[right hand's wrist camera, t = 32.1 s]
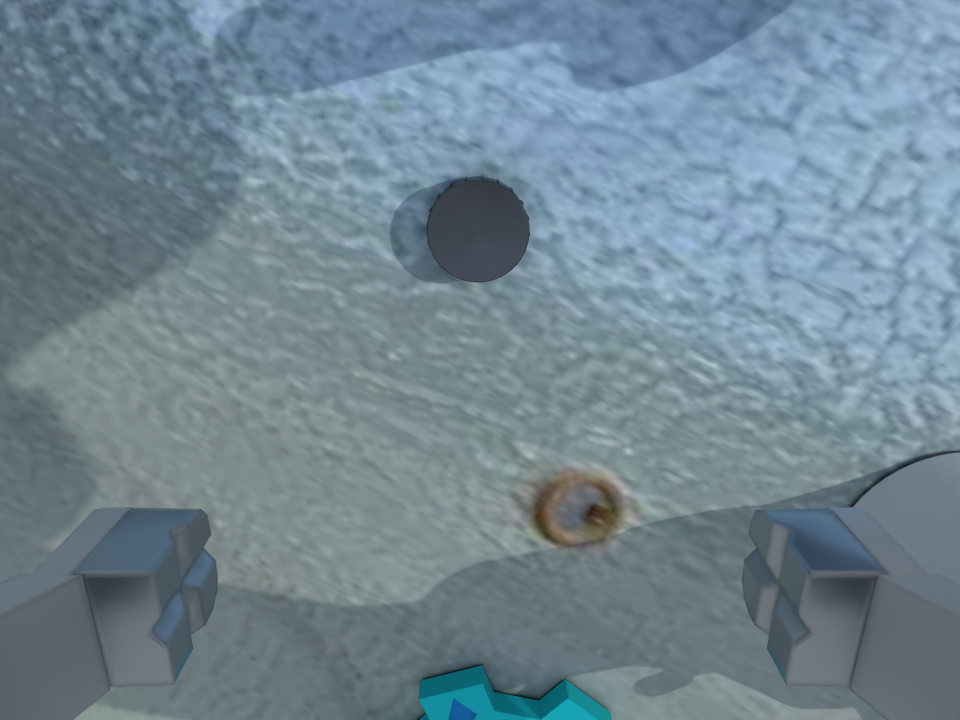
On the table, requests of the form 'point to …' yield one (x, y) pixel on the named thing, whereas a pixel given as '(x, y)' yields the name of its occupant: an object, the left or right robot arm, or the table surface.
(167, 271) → the table surface
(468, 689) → the decorative ornament
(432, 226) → the lid
